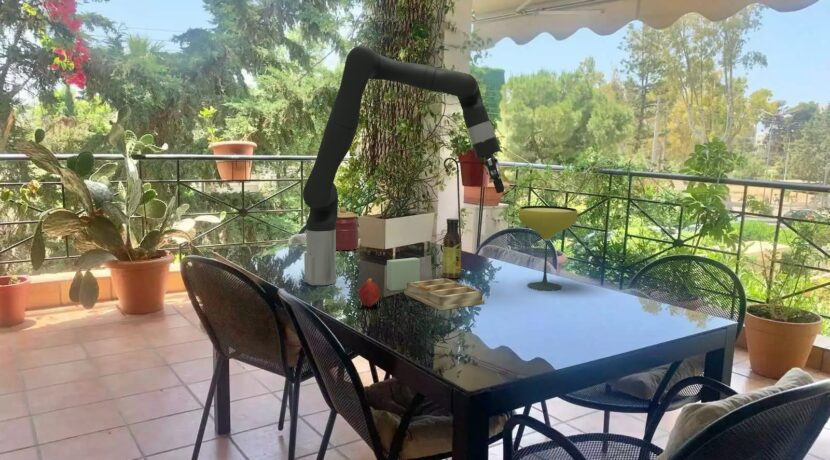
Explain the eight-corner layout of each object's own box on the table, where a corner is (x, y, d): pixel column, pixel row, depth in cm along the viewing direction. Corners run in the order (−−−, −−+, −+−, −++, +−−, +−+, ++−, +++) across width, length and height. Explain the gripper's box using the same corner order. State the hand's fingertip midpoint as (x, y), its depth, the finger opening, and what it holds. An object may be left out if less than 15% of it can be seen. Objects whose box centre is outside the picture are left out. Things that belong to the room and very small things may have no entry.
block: (391, 290, 188) (391, 262, 187) (386, 288, 191) (386, 260, 190) (419, 287, 193) (419, 259, 192) (414, 285, 196) (415, 257, 195)
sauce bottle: (459, 279, 204) (460, 220, 202) (440, 278, 206) (441, 219, 203) (461, 275, 211) (463, 217, 208) (443, 274, 212) (445, 217, 209)
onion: (363, 310, 166) (363, 281, 165) (355, 305, 171) (355, 277, 170) (383, 308, 169) (383, 279, 168) (374, 303, 174) (374, 275, 173)
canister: (323, 250, 254) (323, 208, 251) (332, 245, 267) (332, 204, 264) (354, 252, 252) (354, 209, 249) (362, 246, 265) (362, 205, 262)
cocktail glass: (584, 286, 197) (588, 209, 193) (554, 296, 184) (558, 213, 180) (535, 277, 209) (538, 204, 205) (504, 286, 196) (507, 208, 192)
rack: (439, 310, 167) (440, 294, 167) (404, 294, 184) (404, 280, 184) (484, 303, 175) (485, 288, 174) (446, 288, 192) (446, 275, 191)
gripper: (473, 144, 190) (489, 193, 191) (469, 143, 176) (488, 197, 177) (496, 135, 189) (513, 185, 190) (494, 135, 175) (513, 189, 176)
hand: (500, 191), depth 184 cm, fingers open, 8 cm apart
